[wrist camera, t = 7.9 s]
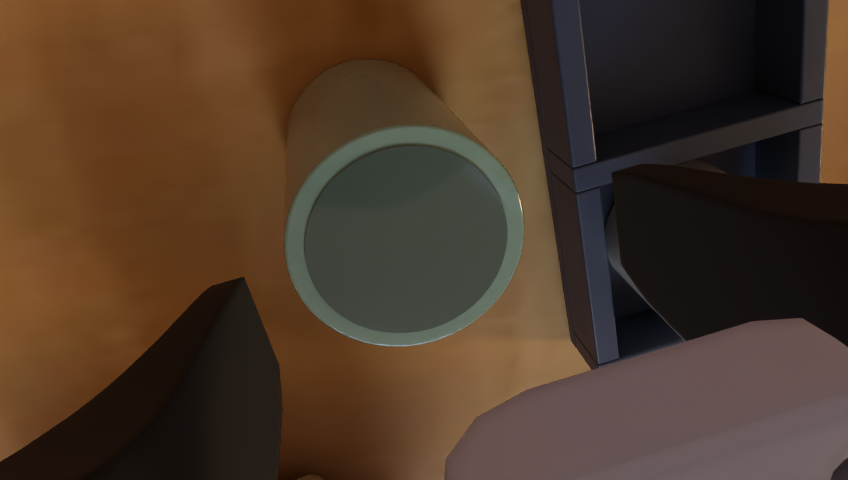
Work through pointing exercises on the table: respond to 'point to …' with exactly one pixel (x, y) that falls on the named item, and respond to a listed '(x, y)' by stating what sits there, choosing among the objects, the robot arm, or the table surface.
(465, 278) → the green cup
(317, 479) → the ceramic vessel
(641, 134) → the cup holder
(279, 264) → the table surface
